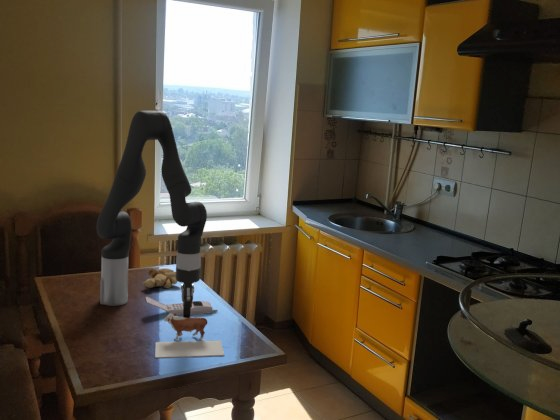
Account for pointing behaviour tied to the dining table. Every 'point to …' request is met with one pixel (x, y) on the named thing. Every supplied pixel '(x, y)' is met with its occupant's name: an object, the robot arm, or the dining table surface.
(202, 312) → the mobile phone
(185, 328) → the bull figurine
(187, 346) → the mat
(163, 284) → the ginger root
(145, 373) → the dining table surface
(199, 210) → the robot arm
